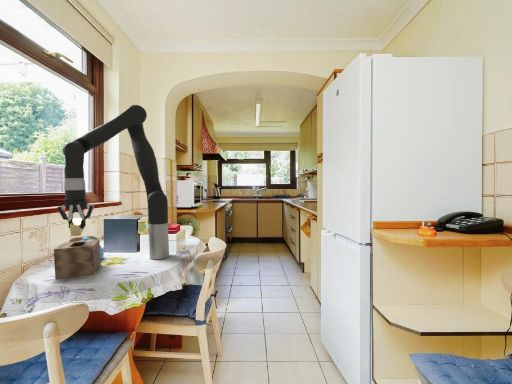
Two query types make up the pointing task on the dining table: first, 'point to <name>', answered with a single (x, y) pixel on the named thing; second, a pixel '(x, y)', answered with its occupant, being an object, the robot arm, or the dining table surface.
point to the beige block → (76, 227)
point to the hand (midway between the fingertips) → (77, 228)
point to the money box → (77, 258)
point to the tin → (83, 237)
